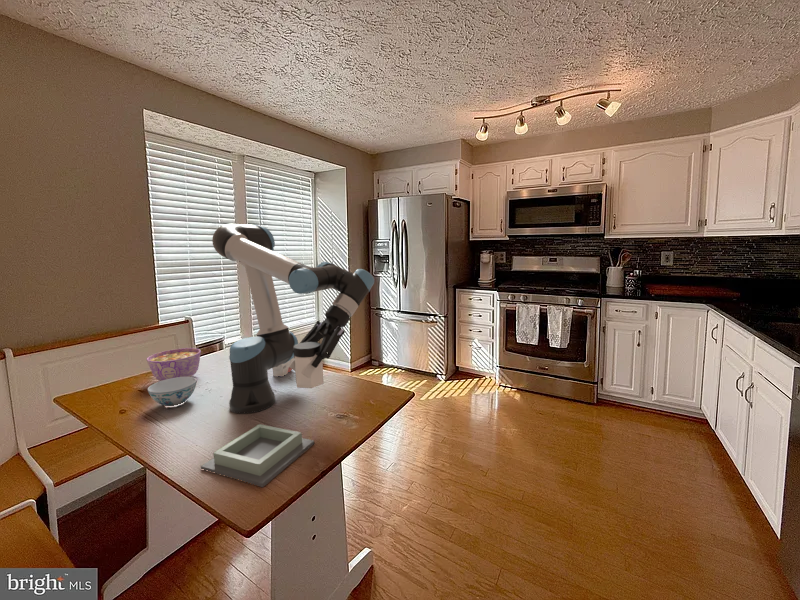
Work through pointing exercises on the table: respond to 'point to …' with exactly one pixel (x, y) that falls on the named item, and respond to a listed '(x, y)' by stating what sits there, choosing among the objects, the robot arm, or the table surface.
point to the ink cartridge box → (282, 369)
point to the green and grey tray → (258, 454)
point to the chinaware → (172, 390)
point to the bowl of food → (174, 363)
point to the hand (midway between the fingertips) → (298, 372)
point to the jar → (301, 359)
